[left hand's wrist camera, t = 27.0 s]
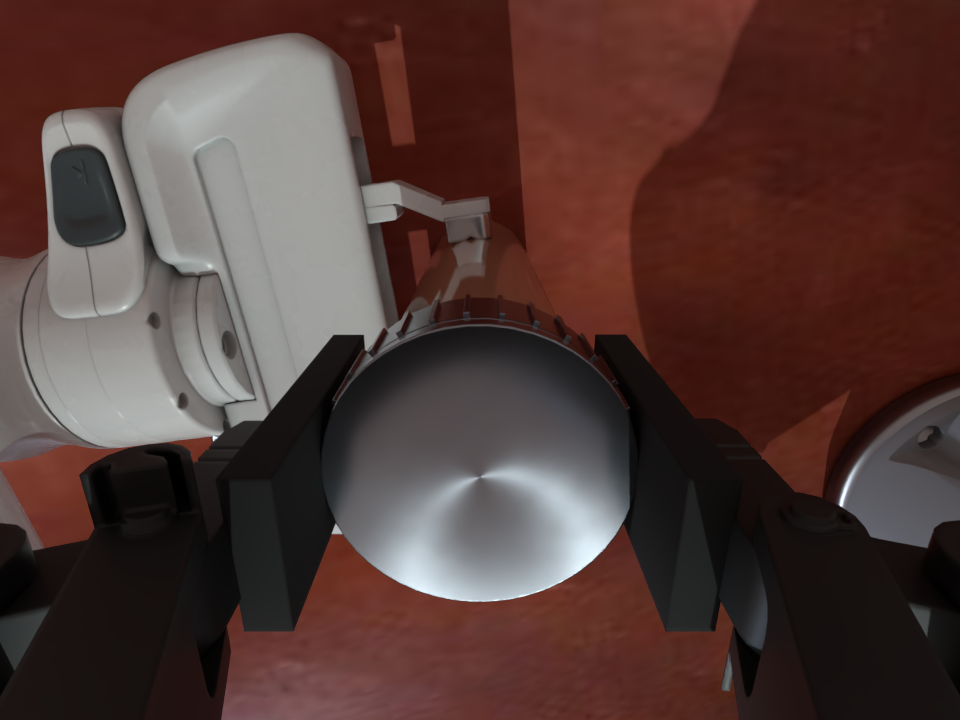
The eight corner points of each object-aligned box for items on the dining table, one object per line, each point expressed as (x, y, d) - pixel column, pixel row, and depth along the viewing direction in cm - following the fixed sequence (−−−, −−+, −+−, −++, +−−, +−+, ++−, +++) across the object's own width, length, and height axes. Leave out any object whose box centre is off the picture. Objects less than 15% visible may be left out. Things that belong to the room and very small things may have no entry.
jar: (415, 283, 29) (311, 487, 11) (462, 199, 28) (431, 278, 10) (495, 330, 30) (518, 587, 12) (545, 251, 29) (657, 411, 11)
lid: (538, 577, 13) (547, 643, 11) (301, 484, 12) (271, 540, 10) (673, 368, 11) (709, 408, 10) (405, 240, 10) (389, 258, 9)
